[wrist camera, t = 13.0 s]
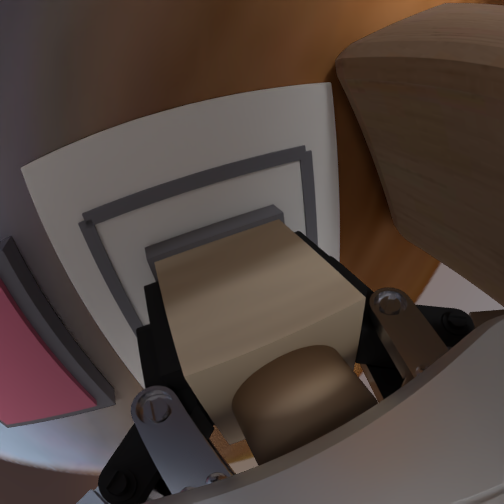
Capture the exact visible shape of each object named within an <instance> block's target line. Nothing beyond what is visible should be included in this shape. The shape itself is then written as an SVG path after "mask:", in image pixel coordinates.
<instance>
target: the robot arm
mask: <svg viewBox="0 0 504 504" xmlns="http://www.w3.org/2000/svg"><path fill="white" fill-rule="evenodd" d="M294 233H295V234H296V235H298V236H299V237H300V238H301V239H302V240H303V241H304V242H306V243H307V244H308V245H309V246H310V247H311V248H312V249H313V250H314V251H316V252H317V253H318V254H319V255H320V256H321V257H322V258H323V259H324V260H326V261H327V262H328V263H329V264H330V265H331V266H332V267H333V268H334V269H335V270H337V271H338V272H339V273H340V274H341V275H342V276H343V277H344V278H345V279H346V280H347V281H349V282H350V283H351V284H352V285H353V286H354V287H355V288H356V289H357V290H358V291H359V292H360V293H361V294H362V295H364V296H365V297H366V299H365V307H364V313H363V320H362V326H361V332H360V338H359V344H358V349H357V355H356V360H355V362H356V363H359V364H360V365H361V368H362V370H363V372H364V374H365V376H366V378H367V380H368V382H369V384H370V386H371V388H372V390H373V392H374V394H375V396H376V398H377V401H378V404H376V405H375V406H373V407H372V408H370V409H369V410H367V411H365V412H364V413H362V414H361V415H359V416H357V417H356V418H354V419H352V420H351V421H349V422H347V423H346V424H344V425H342V426H340V427H338V428H337V429H335V430H333V431H331V432H329V433H328V434H326V435H324V436H322V437H320V438H318V439H316V440H314V441H312V442H310V443H308V444H306V445H304V446H302V447H300V448H298V449H296V450H294V451H292V452H290V453H287V454H285V455H283V456H281V457H279V458H276V459H274V460H272V461H269V462H267V463H264V464H262V465H260V466H257V467H255V468H252V469H249V470H247V471H244V472H241V473H239V474H236V473H235V472H234V471H233V470H232V468H231V467H230V466H229V464H228V463H227V462H226V460H225V459H224V458H223V456H222V455H221V454H220V452H219V451H218V450H217V448H216V447H215V446H214V444H213V443H212V441H211V440H210V439H209V438H210V436H211V434H212V432H213V430H214V427H213V425H215V424H214V422H213V421H212V419H211V418H210V416H209V415H208V413H207V412H206V410H205V409H204V407H203V406H202V404H201V403H200V401H199V400H198V398H197V397H196V395H195V394H194V392H193V390H192V389H191V387H190V386H189V384H188V382H187V381H186V379H185V378H184V375H183V372H182V368H181V365H180V362H179V358H178V355H177V352H176V348H175V345H174V341H173V337H172V334H171V330H170V326H169V322H168V319H167V315H166V311H165V307H164V303H163V299H162V294H161V290H160V286H159V281H157V282H154V283H151V284H148V285H145V286H144V292H145V299H146V305H147V311H148V316H149V322H150V324H147V325H144V326H142V327H139V328H137V329H136V335H137V342H138V349H139V355H140V362H141V368H142V373H143V379H144V384H145V389H144V390H142V391H141V392H140V393H138V395H137V396H136V397H135V398H134V400H133V403H132V405H131V415H132V419H133V421H134V424H133V426H132V427H131V429H130V430H129V432H128V433H127V435H126V436H125V438H124V439H123V441H122V442H121V444H120V445H119V447H118V448H117V450H116V451H115V452H114V454H113V455H112V457H111V458H110V460H109V461H108V463H107V464H106V466H105V467H104V469H103V470H102V472H101V474H100V476H99V480H98V487H97V488H96V489H95V490H92V489H91V490H90V491H89V492H88V493H87V494H86V495H85V496H84V497H83V498H82V499H81V500H80V501H79V502H78V503H77V504H504V310H493V311H480V312H470V313H469V315H468V314H467V313H465V312H463V311H462V310H459V309H454V308H444V307H433V306H423V305H415V304H414V303H413V301H412V300H411V299H410V297H409V296H408V295H407V294H406V293H405V292H403V291H401V290H399V289H395V288H382V289H379V290H377V291H375V292H373V291H372V290H371V289H369V288H368V287H367V286H366V285H365V284H364V283H363V282H361V281H360V280H359V279H358V278H357V277H356V276H355V275H353V274H352V273H351V272H350V271H349V270H348V269H347V268H345V267H344V266H343V265H342V264H341V263H340V262H338V261H337V260H336V259H335V258H334V257H332V256H329V255H328V254H326V253H325V252H324V251H323V250H322V249H321V248H319V247H318V246H317V245H316V244H315V243H314V242H312V241H311V240H310V239H309V238H308V237H306V236H305V235H304V234H303V233H302V232H300V231H296V232H294Z"/></svg>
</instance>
